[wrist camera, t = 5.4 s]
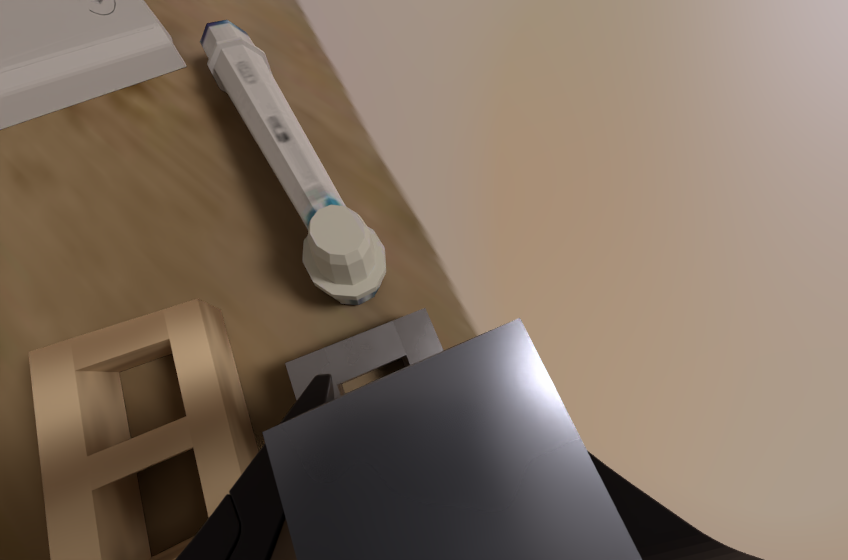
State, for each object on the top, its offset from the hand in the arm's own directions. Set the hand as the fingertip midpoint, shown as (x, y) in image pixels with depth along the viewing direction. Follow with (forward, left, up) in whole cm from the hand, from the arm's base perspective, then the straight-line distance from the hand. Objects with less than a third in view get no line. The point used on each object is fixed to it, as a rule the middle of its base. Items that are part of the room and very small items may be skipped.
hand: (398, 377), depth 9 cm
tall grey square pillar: (-1, 0, -7) cm, 7 cm away
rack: (+2, +12, -13) cm, 18 cm away
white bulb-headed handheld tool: (+18, +1, -14) cm, 23 cm away
